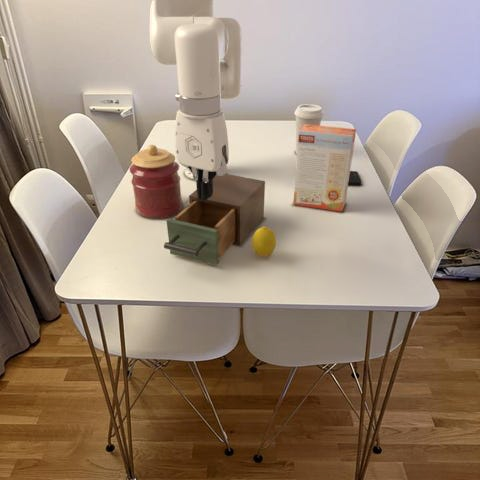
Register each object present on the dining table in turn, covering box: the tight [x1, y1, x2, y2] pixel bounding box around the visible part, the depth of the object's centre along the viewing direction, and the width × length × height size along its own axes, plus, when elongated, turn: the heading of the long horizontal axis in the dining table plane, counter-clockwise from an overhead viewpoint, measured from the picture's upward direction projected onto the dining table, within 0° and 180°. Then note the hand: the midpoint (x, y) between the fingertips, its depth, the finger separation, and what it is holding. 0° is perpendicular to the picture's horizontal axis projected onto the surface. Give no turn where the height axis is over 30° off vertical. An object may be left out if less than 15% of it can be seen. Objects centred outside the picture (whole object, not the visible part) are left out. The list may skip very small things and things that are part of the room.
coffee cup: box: [294, 103, 324, 155], centre depth 156 cm, size 10×10×15 cm
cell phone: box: [348, 170, 362, 186], centre depth 144 cm, size 9×18×1 cm, turn 87°
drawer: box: [163, 200, 237, 267], centre depth 108 cm, size 20×12×9 cm, turn 156°
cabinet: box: [188, 173, 266, 247], centre depth 118 cm, size 16×14×11 cm
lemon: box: [251, 226, 277, 258], centre depth 107 cm, size 6×6×8 cm
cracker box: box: [293, 124, 357, 212], centre depth 124 cm, size 14×6×21 cm, turn 71°
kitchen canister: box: [129, 144, 183, 219], centre depth 123 cm, size 13×13×18 cm
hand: (205, 197), depth 96 cm, fingers closed
